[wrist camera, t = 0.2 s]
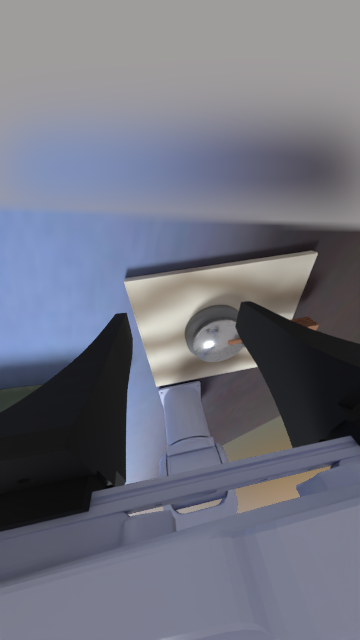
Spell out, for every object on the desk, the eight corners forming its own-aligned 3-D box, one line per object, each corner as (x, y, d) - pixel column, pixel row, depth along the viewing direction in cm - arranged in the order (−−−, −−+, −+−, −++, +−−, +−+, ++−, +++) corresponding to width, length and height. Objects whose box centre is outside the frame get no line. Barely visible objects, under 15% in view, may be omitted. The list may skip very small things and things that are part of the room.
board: (271, 359, 33) (279, 369, 31) (156, 381, 31) (157, 394, 29) (311, 250, 20) (329, 257, 18) (124, 278, 19) (122, 288, 17)
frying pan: (296, 340, 26) (305, 349, 24) (193, 360, 25) (196, 370, 23) (315, 301, 22) (327, 309, 20) (191, 322, 20) (194, 332, 19)
